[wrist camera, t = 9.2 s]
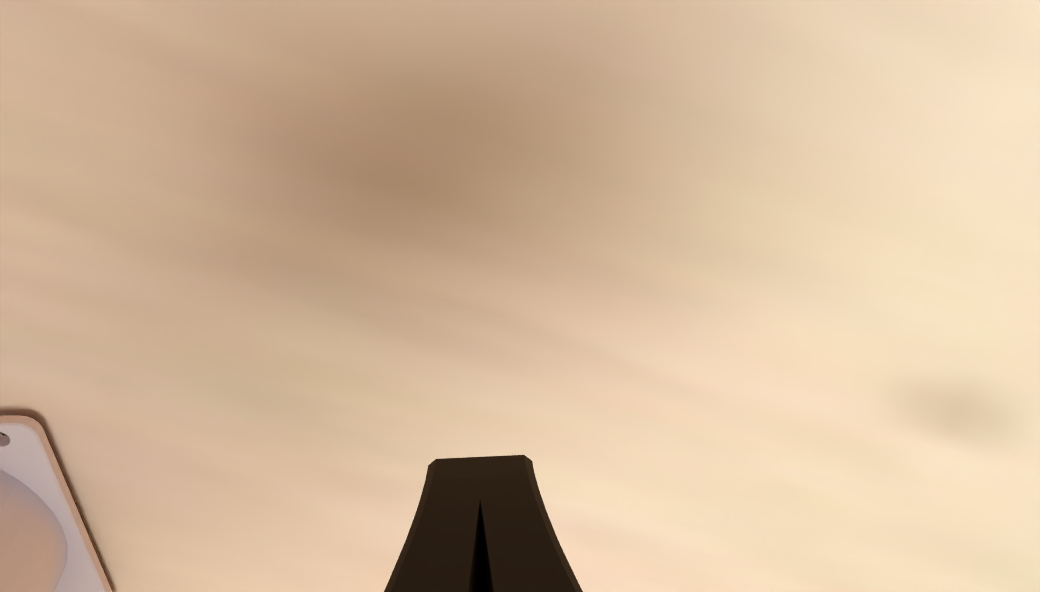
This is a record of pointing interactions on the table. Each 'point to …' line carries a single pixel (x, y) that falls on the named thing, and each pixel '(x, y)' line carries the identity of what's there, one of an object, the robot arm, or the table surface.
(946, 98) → the table surface
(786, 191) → the table surface
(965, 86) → the table surface
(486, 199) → the table surface
